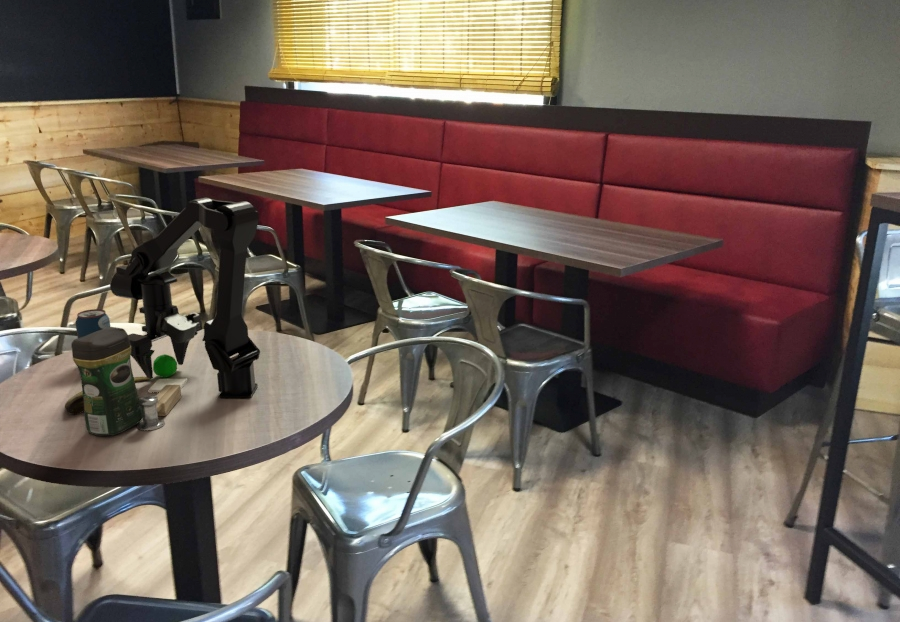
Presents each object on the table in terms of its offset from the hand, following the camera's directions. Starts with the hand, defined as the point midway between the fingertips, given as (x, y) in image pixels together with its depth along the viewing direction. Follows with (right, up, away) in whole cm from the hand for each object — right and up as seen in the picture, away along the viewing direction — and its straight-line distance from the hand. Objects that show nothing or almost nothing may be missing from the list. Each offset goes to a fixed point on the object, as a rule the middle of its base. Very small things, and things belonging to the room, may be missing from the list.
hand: (165, 371), depth 161 cm
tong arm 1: (+5, -6, -16) cm, 18 cm away
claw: (-8, -5, -9) cm, 13 cm away
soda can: (-18, +1, +8) cm, 20 cm away
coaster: (+3, -3, -5) cm, 7 cm away
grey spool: (+6, -8, -22) cm, 25 cm away
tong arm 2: (+7, -6, -16) cm, 18 cm away
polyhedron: (0, -1, 0) cm, 1 cm away
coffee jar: (0, -8, -23) cm, 25 cm away
